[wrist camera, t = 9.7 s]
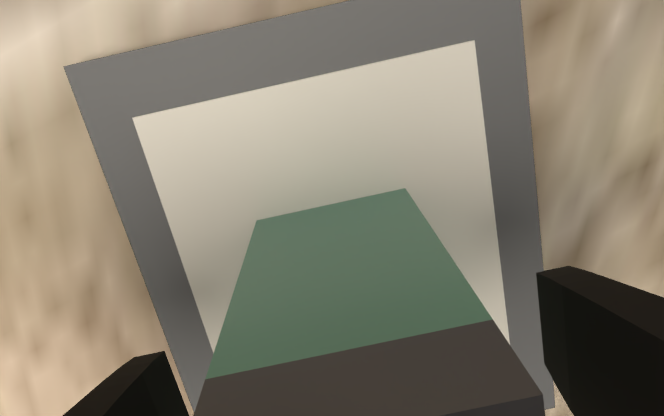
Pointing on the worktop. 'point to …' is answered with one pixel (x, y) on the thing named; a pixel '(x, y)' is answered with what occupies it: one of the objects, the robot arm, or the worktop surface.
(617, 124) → the worktop surface
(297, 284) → the green and grey block
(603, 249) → the worktop surface
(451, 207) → the grey picture frame
